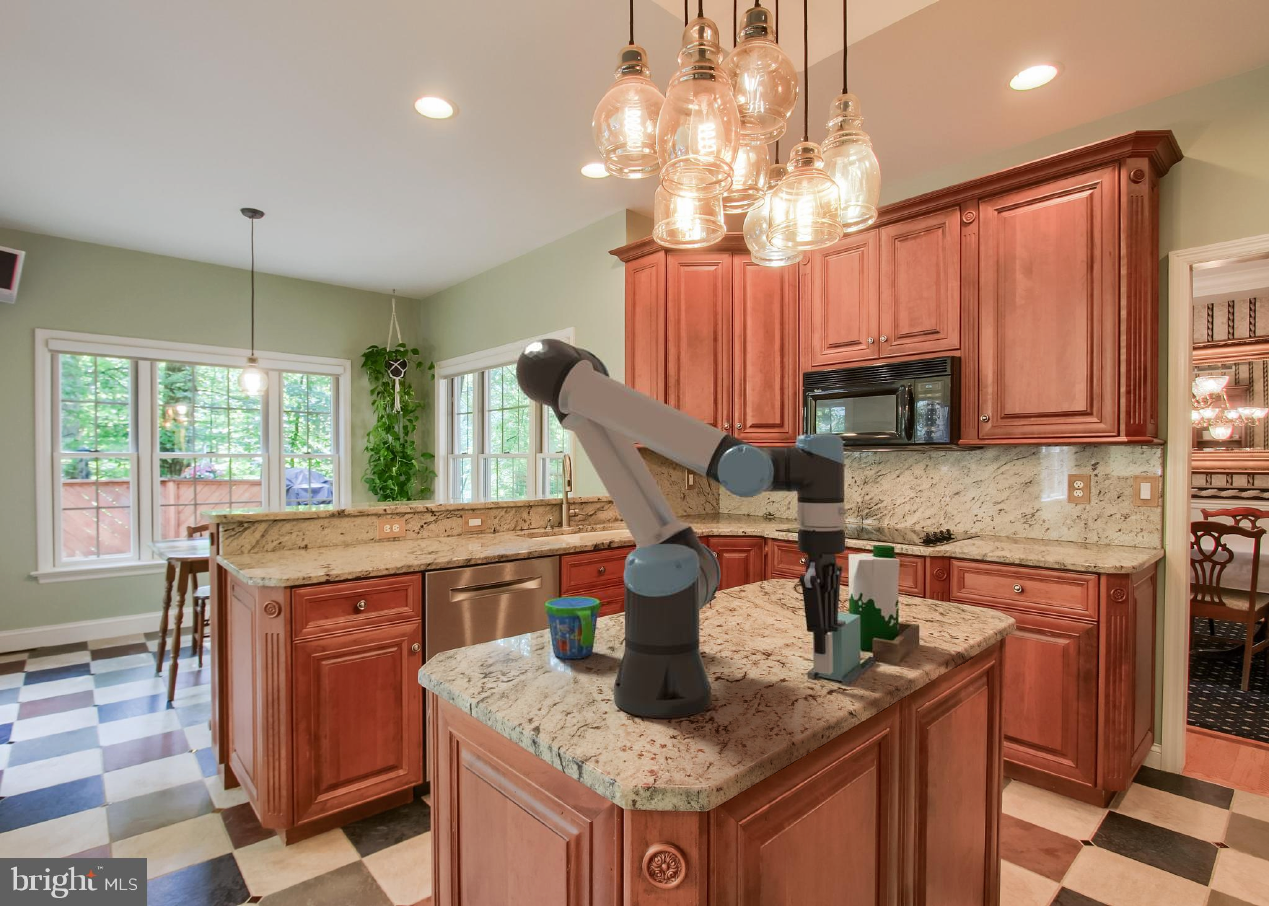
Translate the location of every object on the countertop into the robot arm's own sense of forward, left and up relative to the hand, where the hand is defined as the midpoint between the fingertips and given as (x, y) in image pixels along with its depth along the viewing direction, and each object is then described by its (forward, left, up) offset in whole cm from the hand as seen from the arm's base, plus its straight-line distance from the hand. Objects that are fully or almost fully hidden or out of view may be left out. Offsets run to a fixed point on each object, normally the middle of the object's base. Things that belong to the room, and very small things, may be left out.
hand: (823, 671), depth 104 cm
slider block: (0, +9, -3) cm, 9 cm away
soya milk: (0, +29, -3) cm, 29 cm away
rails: (0, +10, -3) cm, 11 cm away
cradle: (0, +27, -3) cm, 27 cm away
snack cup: (-45, -11, -3) cm, 47 cm away
